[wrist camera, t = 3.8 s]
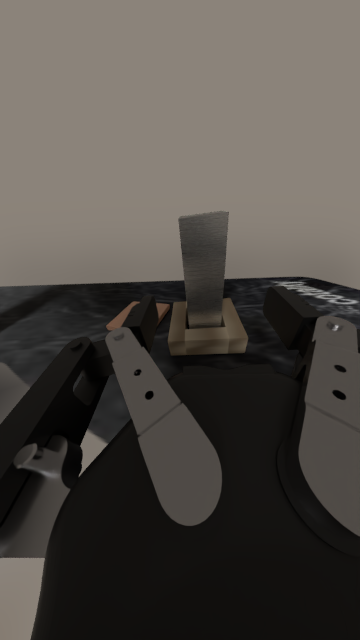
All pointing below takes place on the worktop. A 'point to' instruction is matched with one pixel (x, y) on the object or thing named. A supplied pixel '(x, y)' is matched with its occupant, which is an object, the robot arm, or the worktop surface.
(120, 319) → the tile
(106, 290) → the worktop surface
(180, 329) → the socket block
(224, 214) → the grey tapered block
